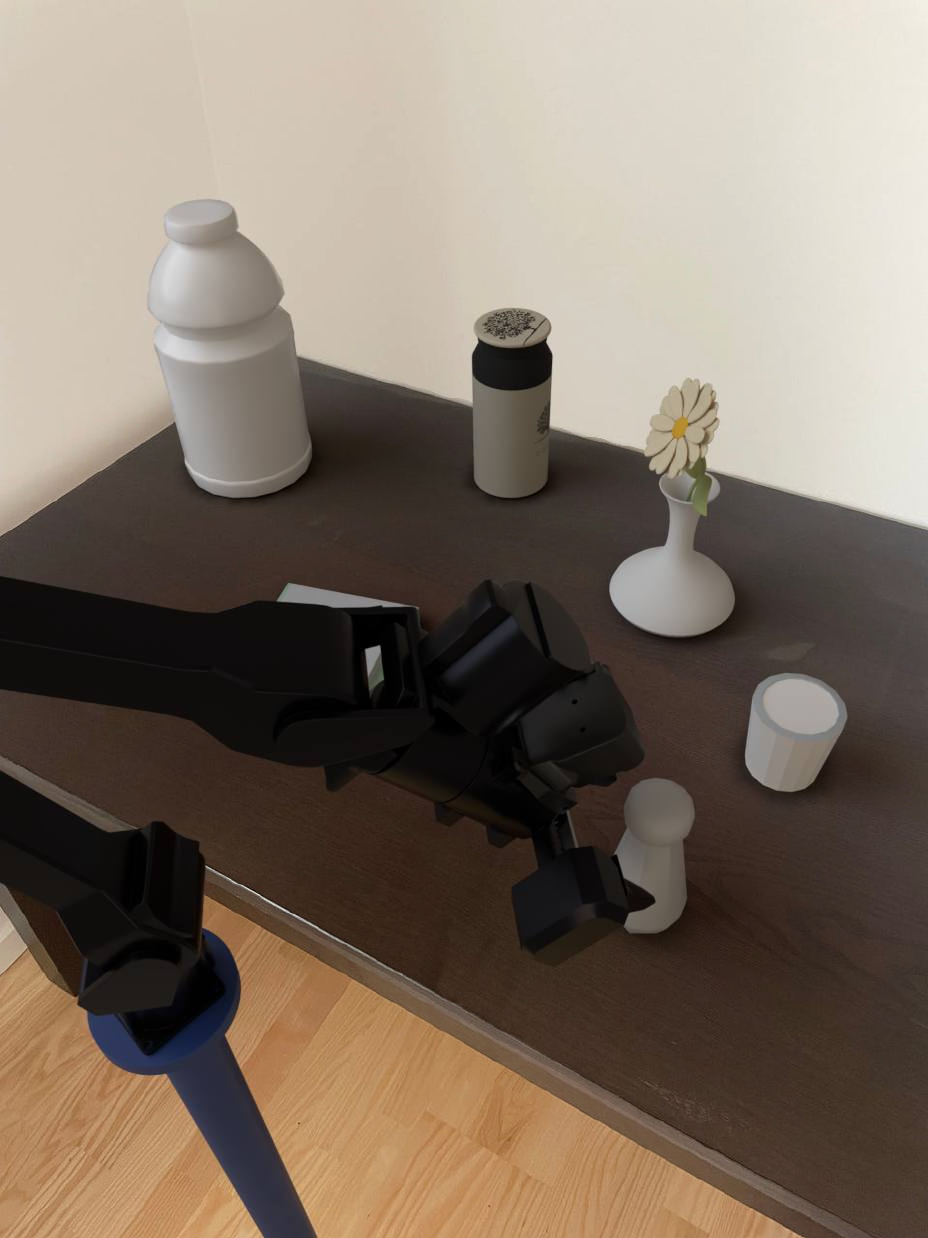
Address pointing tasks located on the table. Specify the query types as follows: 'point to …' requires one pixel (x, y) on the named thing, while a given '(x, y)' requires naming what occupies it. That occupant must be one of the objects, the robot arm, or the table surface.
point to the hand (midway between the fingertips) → (629, 839)
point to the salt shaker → (656, 850)
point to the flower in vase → (678, 526)
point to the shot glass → (792, 730)
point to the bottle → (227, 355)
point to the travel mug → (511, 401)
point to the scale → (338, 600)
